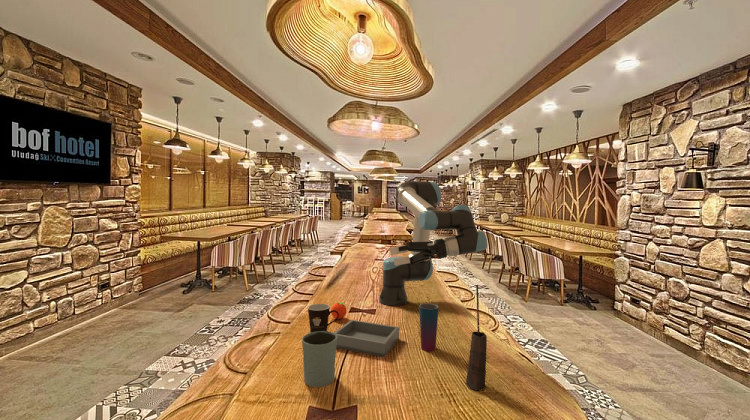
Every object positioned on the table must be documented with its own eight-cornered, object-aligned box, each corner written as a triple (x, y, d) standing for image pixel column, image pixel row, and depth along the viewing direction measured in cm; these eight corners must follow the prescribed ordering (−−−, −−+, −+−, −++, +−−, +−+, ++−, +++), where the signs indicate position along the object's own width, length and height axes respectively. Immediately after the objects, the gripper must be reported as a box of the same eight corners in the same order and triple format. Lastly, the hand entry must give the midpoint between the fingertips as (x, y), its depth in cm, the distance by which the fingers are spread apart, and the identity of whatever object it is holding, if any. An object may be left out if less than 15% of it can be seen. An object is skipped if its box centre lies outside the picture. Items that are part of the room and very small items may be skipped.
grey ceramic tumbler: (305, 391, 84) (305, 347, 83) (298, 373, 93) (299, 333, 93) (341, 383, 88) (341, 341, 88) (331, 367, 97) (332, 328, 97)
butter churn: (500, 399, 81) (501, 292, 81) (462, 395, 83) (463, 290, 82) (492, 380, 90) (494, 284, 90) (458, 377, 92) (459, 282, 92)
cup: (426, 342, 115) (426, 302, 115) (441, 348, 111) (442, 306, 111) (414, 348, 111) (415, 306, 111) (430, 354, 106) (431, 310, 106)
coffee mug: (303, 333, 122) (303, 308, 122) (316, 326, 130) (317, 302, 130) (327, 339, 117) (327, 313, 117) (340, 331, 125) (340, 306, 125)
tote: (351, 330, 126) (351, 319, 126) (398, 338, 118) (399, 327, 118) (331, 346, 111) (331, 334, 111) (384, 357, 103) (384, 343, 103)
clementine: (346, 315, 144) (346, 299, 144) (350, 320, 138) (350, 304, 138) (329, 316, 142) (329, 301, 142) (332, 322, 135) (332, 305, 135)
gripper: (449, 245, 109) (389, 256, 111) (446, 266, 131) (397, 274, 133) (444, 226, 112) (386, 237, 114) (442, 249, 134) (394, 258, 136)
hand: (392, 257), depth 123 cm, fingers open, 13 cm apart
